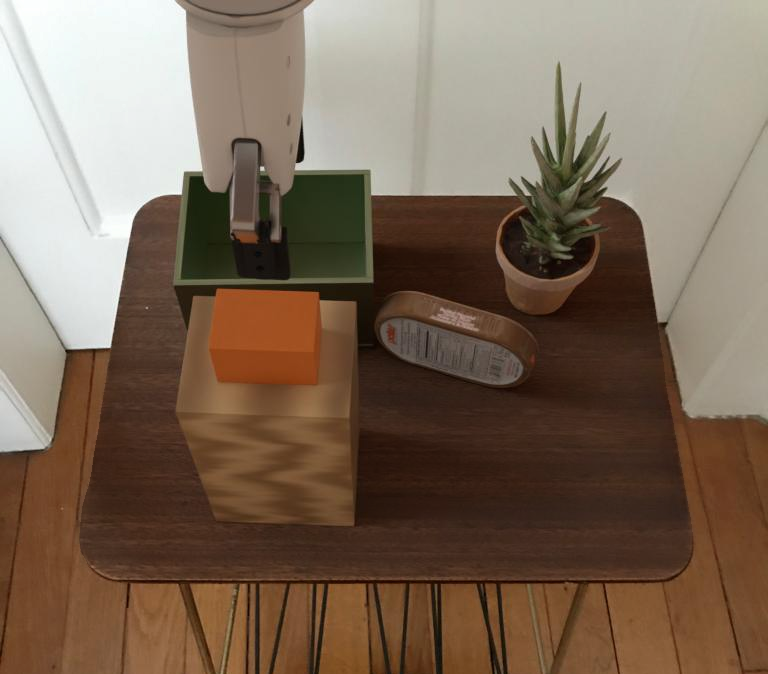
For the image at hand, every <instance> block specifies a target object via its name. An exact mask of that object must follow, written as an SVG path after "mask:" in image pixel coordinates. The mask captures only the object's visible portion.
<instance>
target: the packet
mask: <svg viewBox="0 0 768 674" xmlns="http://www.w3.org/2000/svg"><path fill="white" fill-rule="evenodd" d="M321 333H322V324H321V311H320V299H319V292H299V291H271V290H243V289H217V291H216V298H215V305H214V312H213V319H212V326H211V333H210V340H209V346H208V349H209V353H210V356H211V360H212V363H213V367H214V371H215V374H216V378H217V381H218V382H231V383H259V384H287V385H315V386H317V383H318V371H319V358H320V345H321Z"/></svg>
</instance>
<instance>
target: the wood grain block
mask: <svg viewBox="0 0 768 674" xmlns="http://www.w3.org/2000/svg"><path fill="white" fill-rule="evenodd" d="M215 298H216V297H211V296H193V303H192V309H191V315H190V322H189V328H188V332H187V335H186V342H185V346H184V347H185V349H184V354H183V361H182V367H181V374H180V380H179V385H178V392H177V397H176V398H177V399H176V405H175V411H174V412H175V414H176V415H175V416H176V417H177V420H178V422H179V425H180V428H181V430H182V433H183V437H184V438H185V441H186V444H187V447H188V449H189V452H190V455H191V457H192V460H193V463H194V465H195V468H196V471H197V473H198V476H199V478H200V481H201V484H202V487H203V489H204V493H205V494H206V495H205V496H206V497H207V501H208V502H209V505H210V508H211V511H212V514H213V516H214V519H215V522H222V523H225V522H226V523H227V522H228V523H254V524H278V525H303V526H306V525H307V526H335V527H355V522H356V521H355V519H356V503H357V502H356V501H357V484H358V483H357V481H358V464H359V463H358V462H359V461H358V460H359V445H360V429H361V427H360V388H359V352H358V350H359V348H358V345H357V305H356V302H353V301H324V300H320V311H321V324H322V333H321V345H320V358H319V371H318V383H317V386H315V385H287V384H259V383H231V382H218V381H217V378H216V374H215V371H214V367H213V363H212V360H211V356H210V353H209V349H208V346H209V340H210V333H211V326H212V319H213V312H214V305H215Z"/></svg>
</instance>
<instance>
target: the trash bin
mask: <svg viewBox="0 0 768 674" xmlns="http://www.w3.org/2000/svg"><path fill="white" fill-rule="evenodd" d="M371 173H372V172H371V169H302V170H301V169H299V170H298V169H295V173H294V179H293V184H292V188H291V189H290V190H289V191H288V192H287V193H286V194H284V195H282V226H283V227H287V233H288V243H289V254H290V264H291V274H290V279H288V280H259V279H250V278H242V277H240V276H239V275H238V274H237V268H236V263H235V257H234V251H233V246H232V240H231V234H230V188H229V185H228V187H227V190H226V192H225V193H222V192H211V191H210V190H209V189H208V187H207V186H206V184H205V182H204V176H203V170H202V171H201V170H200V171H196V170H195V171H194V170H192V171H189V170H187V171H183V177H182V186H181V187H182V188H181V198H180V207H179V208H180V209H179V218H178V219H179V220H178V230H177V239H176V241H177V242H176V250H175V251H176V252H175V263H174V271H173V272H174V274H173V284H172V287H173V289H174V292H175V296H176V299H177V302H178V306H179V309H180V312H181V316H182V319H183V321H184V325H185V329H186V331H187V333H188V328H189V322H190V315H191V309H192V303H193V296H211V297H216V291H217V289H243V290H271V291H299V292H319V299H320V300H324V301H353V302H356V305H357V345H358V349H374V339H375V338H374V335H375V334H374V331H375V321H374V318H375V317H374V314H375V313H374V309H375V308H374V303H375V302H374V298H375V297H374V296H375V294H374V293H375V291H374V289H375V288H374V279H375V278H374V248H373V247H374V245H373V243H374V242H373V213H372V212H373V207H372V205H373V204H372V174H371ZM260 181H271V179H270V178H269V176H268V174H267V173H266V171H265V170H260ZM259 216H260V219H270V194H259Z"/></svg>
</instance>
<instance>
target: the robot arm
mask: <svg viewBox="0 0 768 674" xmlns="http://www.w3.org/2000/svg"><path fill="white" fill-rule="evenodd" d="M174 1H175V3H176V4H177V5H179V6H180V7H181V8H182V9H183V10H184V11H185V24H186V47H187V61H188V62H187V63H188V71H189V82H190V90H191V99H192V106H193V114H194V121H195V128H196V133H197V134H196V135H197V136H196V137H197V142H198V143H197V144H198V149H199V156H200V161H201V162H200V163H201V169H202V171H203V176H204V182H205V184H206V186H207V187H208V189H209V190H210V191H211V192H222V193H225V192H226V190H227V187H228V185H229V188H230V234H231V240H232V246H233V251H234V257H235V263H236V268H237V274H238V275H239V276H240V277H242V278H250V279H259V280H288V279H290V274H291V264H290V254H289V243H288V233H287V227H283V226H282V195H284V194H286V193H287V192H288V191H289V190H290V189H291V188H292V184H293V179H294V173H295V170H296V165H297V164H300V163H302V162H304V161H305V154H306V153H305V151H306V150H305V136H304V135H305V134H304V119H303V111H304V110H303V109H304V102H305V101H304V98H305V87H306V86H305V85H306V31H305V29H306V28H305V12H304V11H305V9H306V8H308V7H309V6H310V5H311V4H312V3H313V2H314V1H315V0H174ZM261 167H262V168H263V169H264V170H263V171H266V173H267V174H268V176H269V178H270V179H271V181H260V171H261ZM259 194H270V219H260V216H259Z"/></svg>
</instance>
